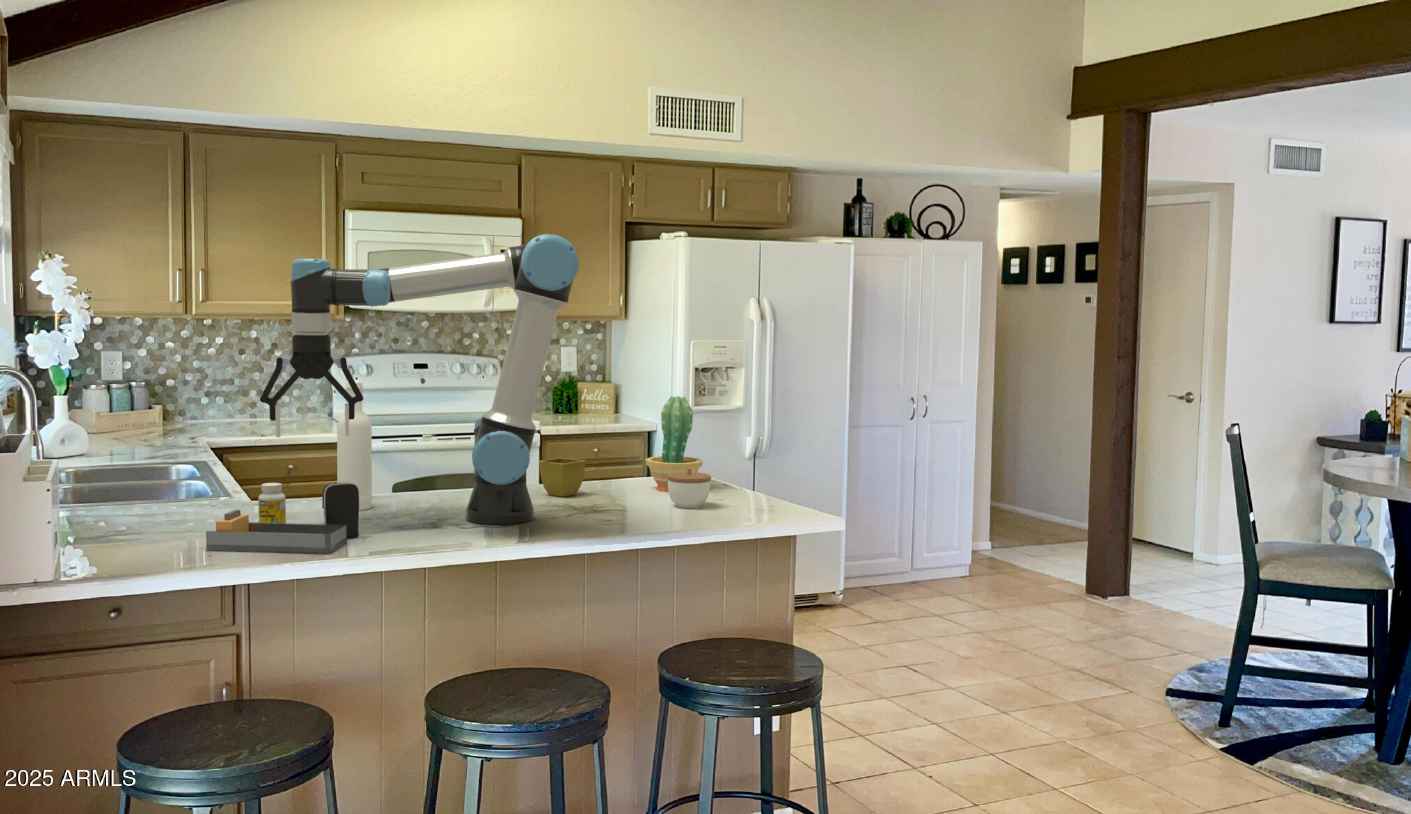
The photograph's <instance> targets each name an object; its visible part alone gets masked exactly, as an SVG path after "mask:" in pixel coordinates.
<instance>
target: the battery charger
mask: <svg viewBox="0 0 1411 814" xmlns="http://www.w3.org/2000/svg"><path fill="white" fill-rule="evenodd" d="M321 502H322V504H321V505H322V506H321V507H322V508H321V509H323V517H324V524H329V525H347V539H350V538H351V539H352V538H358V537H359V536H360V535H359V517H360V511H359V490H358V487H357V486H356V485H355V484H353V483H337V482H334V483H327V484H326V485H325V486H324V487H323V488H322V499H321Z"/></svg>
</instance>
